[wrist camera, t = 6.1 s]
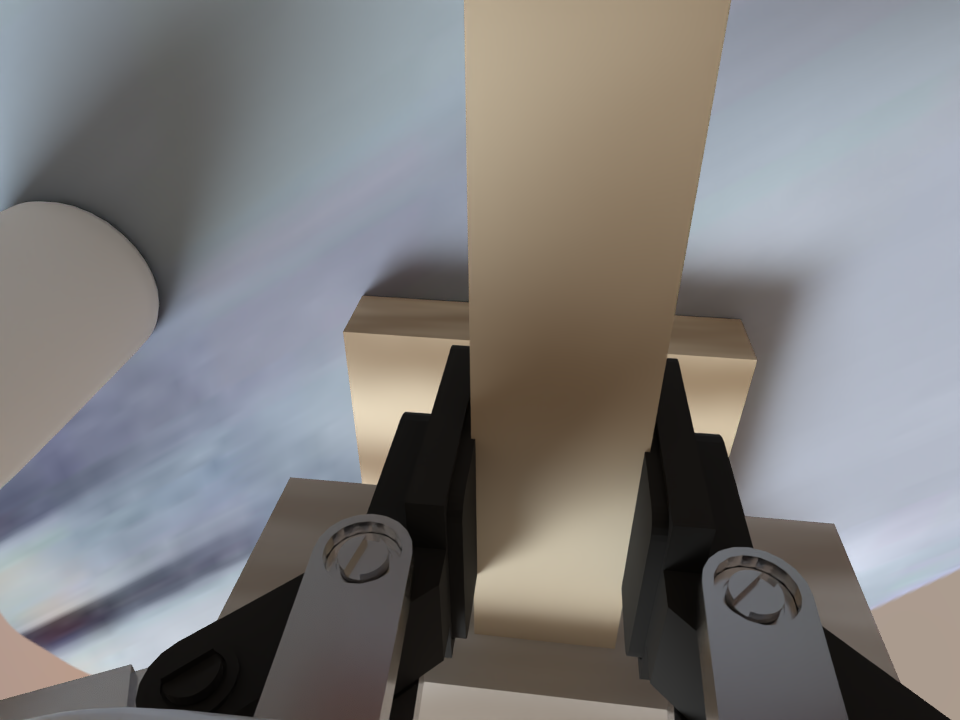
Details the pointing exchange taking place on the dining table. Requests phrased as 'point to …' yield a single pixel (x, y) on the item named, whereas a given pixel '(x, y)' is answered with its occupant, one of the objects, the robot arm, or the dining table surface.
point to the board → (440, 324)
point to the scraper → (569, 355)
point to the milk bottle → (63, 319)
